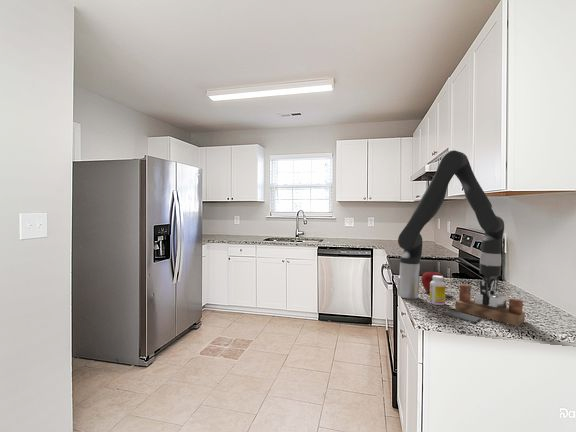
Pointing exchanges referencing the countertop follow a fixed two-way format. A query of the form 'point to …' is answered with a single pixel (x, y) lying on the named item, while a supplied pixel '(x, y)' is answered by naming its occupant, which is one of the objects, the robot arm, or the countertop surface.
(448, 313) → the rubber mat
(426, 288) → the apple
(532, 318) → the countertop surface
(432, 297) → the supplement bottle
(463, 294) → the plane body
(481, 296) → the lever cap
